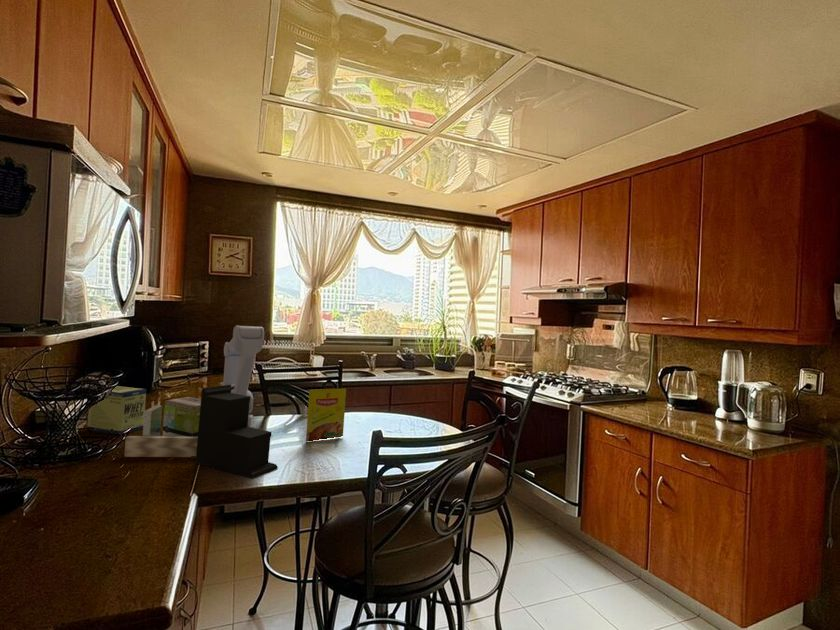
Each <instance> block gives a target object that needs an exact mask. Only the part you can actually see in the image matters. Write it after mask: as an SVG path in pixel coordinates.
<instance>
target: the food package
mask: <svg viewBox="0 0 840 630" xmlns="http://www.w3.org/2000/svg"><path fill="white" fill-rule="evenodd" d="M308 391H309V393H308V405H307V407H308V408H307V419H306V420H307V421H306V435H305V436H306V437H305V442H306V441H313V440H319V439H327V438H334V437H341V436H343V437H344V426H345V425H344V423H345V410H346V397H347V396H346V395H347V388H323V389H319V388H318V389H309V390H308Z"/></svg>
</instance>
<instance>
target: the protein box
mask: <svg viewBox="0 0 840 630" xmlns="http://www.w3.org/2000/svg"><path fill="white" fill-rule="evenodd" d="M115 386H116V387H115V388H114V389H113V390H112V392H111V393H110V394H109V395H108V397H107V398H105V399H104V400H102V401H100V402H98V403H97V404H95V405H93V406H92V407H91V408H90V409H89V408H88V415H87V423H86V425H87V426H86V429H87V428H94V429H96V430H92V431H91V432H96V433H104V434H109V433H110V432H112V435H116V434H117V433H121V432H123V431H125V430H127V429H128V428H130V427H132V429H131V431H130V433H133V432H138V431H140V430H143V425H144V412H145V411H146V399H147V388H140V387H139V388H137V387H136V388H135V387H128V386H119V385H115ZM111 429H113V431H111Z"/></svg>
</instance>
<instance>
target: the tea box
mask: <svg viewBox="0 0 840 630" xmlns="http://www.w3.org/2000/svg"><path fill="white" fill-rule="evenodd" d="M200 406H201V398H196V397H191V396H185V397H180V398H173V399H167V400H165V401H164V409H163V410H164V412H163V426H162V436H181V437H198V429H199V417H200Z"/></svg>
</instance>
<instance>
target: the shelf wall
mask: <svg viewBox="0 0 840 630" xmlns="http://www.w3.org/2000/svg"><path fill="white" fill-rule="evenodd" d="M197 440H198V437H181V436H163V435H160V436H143V435H128V436H126V437H125V443H124V444H125V445H124V457H125V458H129V457H130V458H135V457H136V458H142V457H143V458H192V457H191V456H196V452H197Z"/></svg>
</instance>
